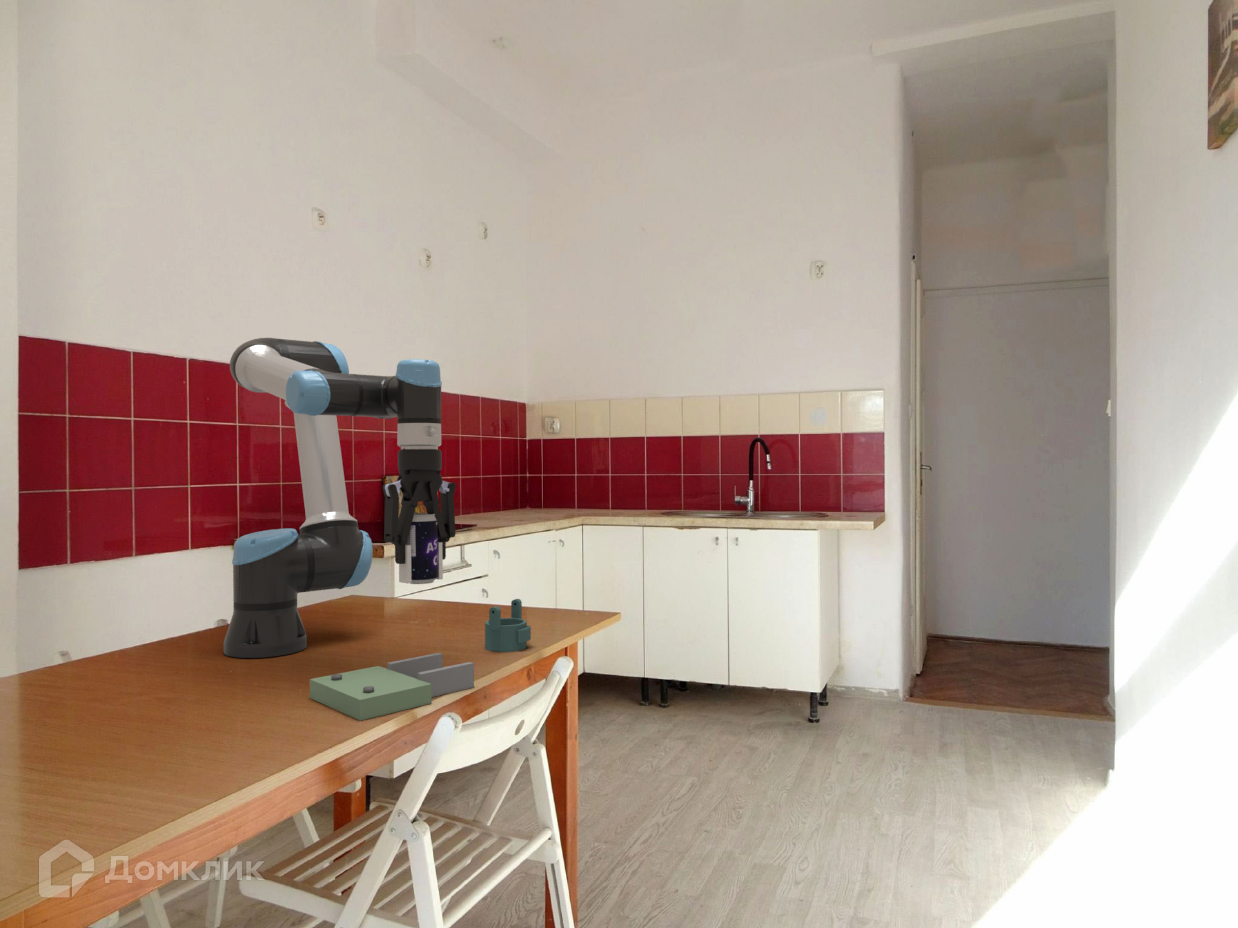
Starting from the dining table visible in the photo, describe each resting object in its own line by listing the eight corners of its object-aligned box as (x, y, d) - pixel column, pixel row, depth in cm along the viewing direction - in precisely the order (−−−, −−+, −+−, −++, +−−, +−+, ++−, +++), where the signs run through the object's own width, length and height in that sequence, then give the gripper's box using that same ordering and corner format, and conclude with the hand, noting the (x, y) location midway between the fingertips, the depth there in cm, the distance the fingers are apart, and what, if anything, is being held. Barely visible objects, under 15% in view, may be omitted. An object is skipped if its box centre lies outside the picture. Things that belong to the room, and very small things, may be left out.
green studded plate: (309, 698, 134) (309, 672, 134) (429, 672, 150) (429, 650, 149) (360, 720, 123) (360, 692, 123) (484, 690, 138) (484, 666, 138)
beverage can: (429, 585, 145) (429, 515, 145) (399, 584, 146) (398, 515, 146) (442, 580, 151) (442, 513, 151) (413, 580, 152) (412, 513, 152)
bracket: (489, 654, 164) (490, 607, 164) (480, 643, 172) (481, 599, 172) (535, 650, 167) (535, 605, 167) (524, 640, 176) (524, 597, 175)
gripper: (383, 447, 139) (385, 588, 139) (476, 448, 153) (477, 576, 153) (360, 448, 144) (361, 584, 144) (451, 449, 158) (453, 573, 158)
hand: (421, 580), depth 148 cm, fingers closed on beverage can, 6 cm apart
